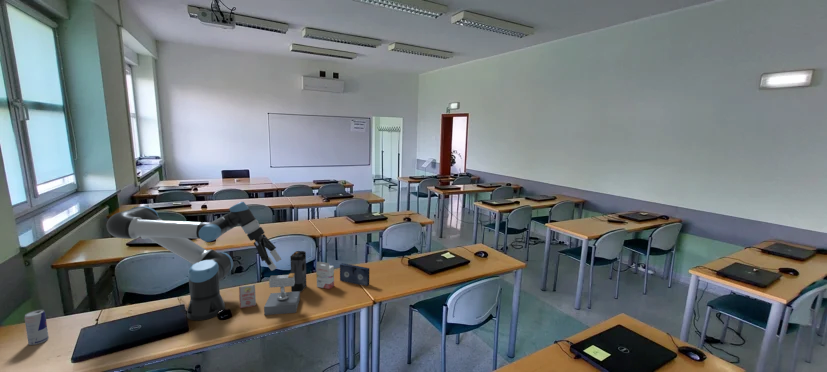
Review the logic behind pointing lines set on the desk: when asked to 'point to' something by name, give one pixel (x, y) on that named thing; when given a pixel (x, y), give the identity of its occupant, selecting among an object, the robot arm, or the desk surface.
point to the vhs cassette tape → (354, 274)
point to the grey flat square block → (282, 303)
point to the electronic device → (298, 270)
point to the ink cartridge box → (325, 275)
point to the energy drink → (36, 327)
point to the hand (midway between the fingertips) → (276, 264)
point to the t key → (282, 283)
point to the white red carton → (247, 296)
